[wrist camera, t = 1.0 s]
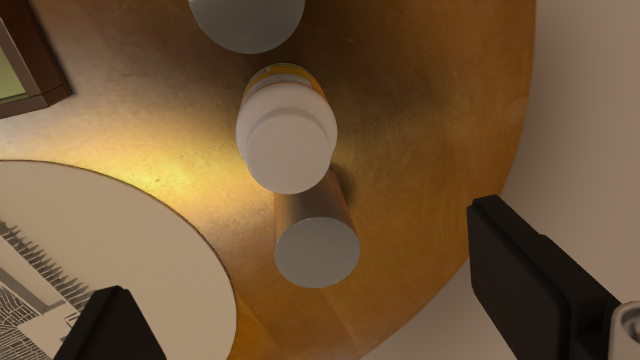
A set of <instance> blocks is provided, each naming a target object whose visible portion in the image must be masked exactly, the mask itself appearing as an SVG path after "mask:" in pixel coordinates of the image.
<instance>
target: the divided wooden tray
mask: <svg viewBox="0 0 640 360" xmlns="http://www.w3.org/2000/svg"><path fill="white" fill-rule="evenodd" d="M71 95H73V93H72V91H71V89H70V87H69V85H68V83H67V81H66V79H65V77H64V75H63V73H62V71H61V69H60V67H59V65H58V63H57V61H56V59H55V57H54V55H53V53H52V51H51V49H50V47H49V45H48V43H47V41H46V39H45V37H44V35H43V34H42V32H41V30H40V28H39V26H38V24H37V22H36V20H35V18H34V16H33V14H32V12H31V10H30V8H29V6H28V4H27V2H26V0H0V119H4V118H8V117H12V116H16V115H20V114H24V113H28V112H32V111H36V110H40V109H45V108H49V107H50V106H52V105H54V104H56V103H58V102H60V101H62V100H63V99H65V98H67V97H69V96H71Z"/></svg>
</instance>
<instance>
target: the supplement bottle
mask: <svg viewBox="0 0 640 360" xmlns="http://www.w3.org/2000/svg"><path fill="white" fill-rule="evenodd" d="M236 142H237V146H238V150H239V152H240V154H241V156H242V158H243V160H244V161H245V162H246V164H247V166H248V169H249V171H250V173H251V175H252V176H253V178H254V179H255V180H256V181H257V182H258V183H259V184H260V185H262V186H263V187H264V188H266V189H268V190H270V191H273V192H276V193H281V194H296V193H300V192H303V191H306V190H308V189H310V188H312V187H313V186H314V185H316V184H317V183H318V182H319V181H320V180H321V179H322V178H323V177H324V175H325V174H326V172H327V170H328V168H329V164H330V161H331V156H332V154H333V152H334V149H335V146H336V143H337V124H336V120H335V117H334V114H333V111H332V109H331V107H330V105H329V103H328V101H327V99H326V97H325V95H324V93H323V91H322V89H321V87H320V85H319V83H318V82H317V80H316V79H315V78H314V77H313V75H312V74H310V73H309V72H308V71H307V70H305V69H303V68H302V67H299V66H297V65H293V64H289V63H276V64H272V65H269V66H267V67H264V68H263V69H261V70H259V71H258V72H257V73H256V74H255V75H254V76H253V77H252V78H251V79H250V81H249V82H248V84H247V86H246V88H245V91H244V94H243V98H242V102H241V106H240V110H239V114H238V117H237V123H236Z"/></svg>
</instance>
